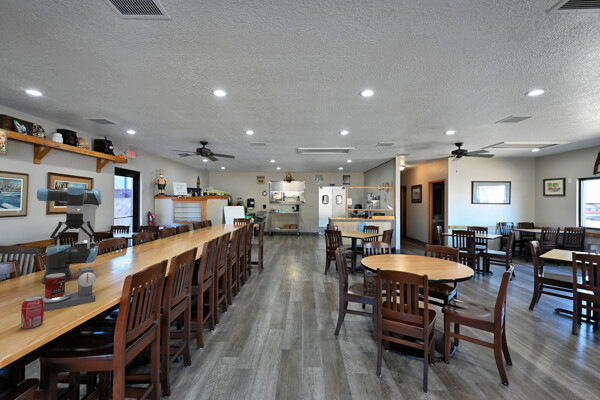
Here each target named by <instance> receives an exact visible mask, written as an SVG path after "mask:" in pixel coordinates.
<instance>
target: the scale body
mask: <svg viewBox="0 0 600 400" xmlns="http://www.w3.org/2000/svg"><path fill="white" fill-rule="evenodd" d="M96 280H97V276H96V274H94V269H93V268H92V266H86V267H79V268H78V280H77V282H78V283H77V286H78V287H77V291H75V292H71V293H72V297H70V298H68V299H65V300H62V301H57V302H51V303H44V313H45V312H49V311H54V310H58V309H59V310H60V309H65V308H70V307H74V306H78V305H84V304H89V303H94V302H96V295H95V293H94V292H93V286H94V285H93V284H94V283H95V282H96Z"/></svg>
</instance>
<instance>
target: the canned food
mask: <svg viewBox="0 0 600 400" xmlns="http://www.w3.org/2000/svg"><path fill="white" fill-rule="evenodd" d="M65 292H66V282H65V274H64V273H56V274H50V275H47V276H46V278H45V284H44V295H45V298H49V299H50V298H58V297H61V296H63V295H64V293H65Z"/></svg>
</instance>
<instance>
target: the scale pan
mask: <svg viewBox="0 0 600 400" xmlns="http://www.w3.org/2000/svg"><path fill="white" fill-rule="evenodd" d="M72 293H73V292H72V291H71V292H70V291H65V293H64V295H63V296H61V297H58V298H50V299H49V298H45V294H42V295H41V296H42V298H43V299H44V303H51V302H57V301H62V300H65V299H68V298H70V297H72Z"/></svg>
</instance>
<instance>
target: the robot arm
mask: <svg viewBox="0 0 600 400" xmlns="http://www.w3.org/2000/svg"><path fill="white" fill-rule="evenodd" d="M36 199H37V201H39V202H59V203H65V204H66V215H65V221H58V224H57V226H56V228H55V229H54V230H53V232H52V233H51V234H50V236H49V238H50V239H53V245H54V246H53V247H49V248H48V249H47V250H46V269H45V272H44V273H43V274H44V275H43V276H42V278H41V283H42V284H44V285H45V278H46V276H47V275H50V274H56V273H64V274H65V283H66V282H69V281H72V280H73V273H72V271H71V268H70V266H71V265H78V264H91V263H93V262H94V263H95V261H96V260H97V257H98V251H99V246H98V245H97V243H96V242H95V241H94V238H95V237H97V234H96V232H95V226H96V213H97V209H98V208H99V206H101V205H102V202H103V201H102V194H101V190H100V189H99V188H89V187H88V188H85V187H84V186H74V185H73V186H71V185H69V186H67V187H66V188H48V187H39V188H38V189H37V191H36ZM64 225H65V227H64V228H63V229H62V230H61V231H60V232H59V233H58V231H59V230H60V228H61V227H62V226H64ZM69 229H70V230H74V229H75V230H78V235H77V236H78V237H77V238H78V239H77V242H75V243H74V246H71V245H70V244H62V245H60V237H61V236H63V235H64V233H66V232H67V231H68V230H69ZM57 233H58V234H57Z"/></svg>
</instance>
